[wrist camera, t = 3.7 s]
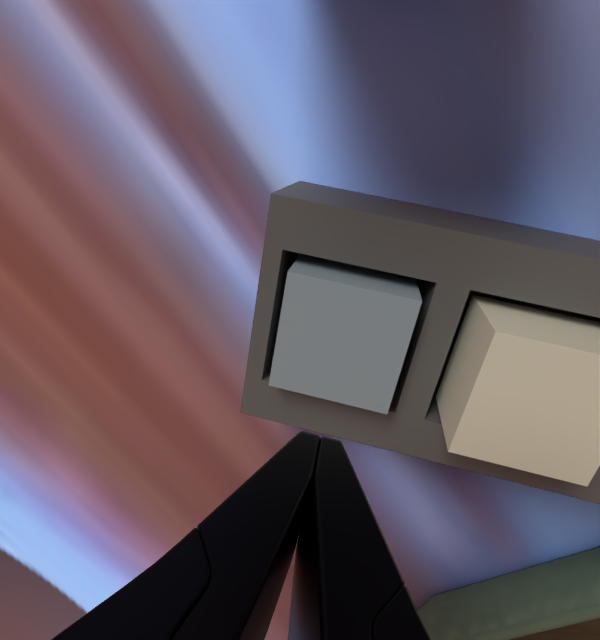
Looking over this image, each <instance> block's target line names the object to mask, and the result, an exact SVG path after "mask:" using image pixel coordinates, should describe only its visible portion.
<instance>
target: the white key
mask: <svg viewBox="0 0 600 640" xmlns="http://www.w3.org/2000/svg"><path fill="white" fill-rule="evenodd" d="M436 401H437V405H438V409H439V414H440V418H441V423H442V427H443V432H444V436H445V441H446V445H447V449H448V452H451V453H455V454H459V455H463V456H467V457H471V458H475V459H479V460H483V461H487V462H491V463H495V464H499V465H503V466H507V467H511V468H515V469H519V470H523V471H527V472H531V473H535V474H539V475H543V476H547V477H551V478H555V479H559V480H563V481H567V482H571V483H575V484H579V485H583V486H588V485H589V483H590V481H591V480H592V478H593V476H594V474H595V473H596V471H597V469H598V468H599V466H600V322H597V321H592V320H587V319H583V318H578V317H573V316H569V315H564V314H560V313H555V312H550V311H546V310H541V309H536V308H532V307H527V306H523V305H518V304H513V303H509V302H504V301H499V300H495V299H490V298H486V297H481V296H476V295H472V298H471V300H470V303H469V306H468V309H467V312H466V314H465V317H464V320H463V323H462V326H461V328H460V331H459V334H458V337H457V340H456V342H455V345H454V348H453V351H452V354H451V356H450V359H449V362H448V365H447V367H446V370H445V373H444V376H443V379H442V381H441V384H440V387H439V390H438V393H437V395H436Z"/></svg>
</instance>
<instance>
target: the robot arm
mask: <svg viewBox="0 0 600 640" xmlns="http://www.w3.org/2000/svg"><path fill="white" fill-rule="evenodd" d="M299 531H300V532H299ZM298 536H299V537H298ZM297 540H298V542H297ZM296 544H297V548H296ZM295 548H296V556H295V565H294V576H293V587H292V598H291V609H290V620H289V631H288V640H431V639H430V636H429V634H428V632H427V630H426V628H425V626H424V624H423V622H422V620H421V618H420V616H419V614H418V611H417V609H416V607H415V605H414V603H413V600H412V598H411V596H410V594H409V591H408V589H407V587H405V586H404V581H403V578H402V576H401V574H400V572H399V569H398V567H397V565H396V563H395V561H394V558H393V556H392V554H391V552H390V549H389V547H388V545H387V543H386V540H385V538H384V536H383V534H382V532H381V529H380V527H379V525H378V523H377V520H376V518H375V516H374V514H373V511H372V509H371V507H370V505H369V503H368V500H367V498H366V496H365V494H364V491H363V489H362V487H361V485H360V482H359V480H358V478H357V476H356V474H355V471H354V469H353V467H352V465H351V462H350V460H349V458H348V456H347V453H346V451H345V449H344V447H343V445H342V443H341V441H339V440H336V439H332V438H328V437H321V439H320V437H319V436H318V435H316V434H312V433H308V432H304V431H301V432H299V433H298V434H297V435H296V436H295V437H294V438H293V439H292V440H290V441H289V442H288V443H287V444H286V445H285V446H284V447H283V448H282V449H281V450H279V451H278V452H277V453H276V454H275V455H274V456H273V457H272V458H271V459H270V460H269V461H267V462H266V463H265V464H264V465H263V466H262V467H261V468H260V469H259V470H258V471H257V472H255V473H254V474H253V475H252V476H251V477H250V478H249V479H248V480H247V481H246V482H245V483H243V484H242V485H241V486H240V487H239V488H238V489H237V490H236V491H235V492H234V493H233V494H231V495H230V496H229V497H228V498H227V499H226V500H225V501H224V502H223V503H222V504H221V505H219V506H218V507H217V508H216V509H215V510H214V511H213V512H212V513H211V514H210V515H209V516H207V517H206V518H205V519H204V520H203V521H202V522H201V523H200V524H199V525H198V526H197V528H194V529H193V530H192V531H191V532H190V533H189V534H188V535H186V536H185V537H184V538H183V539H182V540H181V541H180V542H179V543H178V544H176V545H175V546H174V547H173V548H172V549H171V550H170V551H168V552H167V553H166V554H165V555H164V556H163V557H161V558H160V559H159V560H158V561H157V562H156V563H154V564H153V565H152V566H150V567H149V568H148V569H146V570H145V571H144V572H143V573H141V574H140V575H139V576H137V577H136V578H135V579H133V580H132V581H131V582H129V583H128V584H127V585H125V586H124V587H123V588H121V589H120V590H119V591H117V592H116V593H114V594H113V595H112V596H110V597H109V598H108V599H106V600H105V601H103V602H102V603H101V604H99V605H98V606H97V607H95V608H94V609H92V610H91V611H90V612H88V613H87V614H86V615H84V616H83V617H81V618H80V619H79V620H77V621H76V622H75V623H73V624H72V625H70V626H69V627H68V628H66V629H65V630H63V631H62V632H61V633H60V634H58V635H57V636H55V637H54V638H52V639H51V640H264V639H265V636H266V633H267V630H268V628H269V625H270V622H271V619H272V616H273V613H274V610H275V607H276V604H277V601H278V599H279V596H280V593H281V590H282V587H283V584H284V581H285V578H286V575H287V572H288V570H289V567H290V564H291V561H292V558H293V554H294V551H295Z"/></svg>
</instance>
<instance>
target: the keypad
mask: <svg viewBox="0 0 600 640" xmlns="http://www.w3.org/2000/svg"><path fill="white" fill-rule="evenodd" d="M300 254H305V255H310V256H315V257H319V258H324V259H329V260H333V261H338V262H342V263H347V264H352V265H356V266H361V267H366V268H370V269H375V270H380V271H384V272H389V273H394V274H398V275H403V276H408V277H412V278H416V281H417V284H418V288H419V291H420V295H421V299H422V304H421V307H420V310H419V313H418V317H417V320H416V323H415V326H414V330H413V333H412V336H411V339H410V343H409V346H408V349H407V352H406V356H405V359H404V362H403V365H402V368H401V372H400V375H399V378H398V381H397V385H396V388H395V391H394V394H393V398H392V401H391V404H390V407H389V410H388V414H383V413H379V412H375V411H371V410H367V409H363V408H359V407H354V406H350V405H346V404H342V403H338V402H334V401H330V400H326V399H322V398H318V397H314V396H310V395H306V394H302V393H297V392H293V391H289V390H285V389H281V388H277V387H273V386H269V379H270V373H271V367H272V361H273V355H274V349H275V343H276V338H277V332H278V326H279V320H280V314H281V308H282V302H283V296H284V290H285V284H286V278H287V272H288V270H289V269H290V268H291V266H292V265H293V264H294V262H295V261H296V260H297V258H298V257H299V255H300ZM472 295H476V296H481V297H486V298H490V299H495V300H499V301H504V302H509V303H513V304H518V305H523V306H527V307H532V308H536V309H541V310H546V311H550V312H555V313H560V314H564V315H569V316H573V317H578V318H583V319H587V320H592V321H597V322H600V241H598V240H593V239H588V238H583V237H578V236H573V235H568V234H563V233H558V232H553V231H548V230H543V229H538V228H533V227H528V226H523V225H518V224H513V223H508V222H503V221H498V220H493V219H488V218H483V217H478V216H473V215H468V214H463V213H458V212H453V211H448V210H443V209H438V208H433V207H428V206H423V205H418V204H413V203H408V202H403V201H397V200H392V199H387V198H382V197H377V196H372V195H367V194H362V193H357V192H352V191H347V190H342V189H337V188H332V187H327V186H322V185H317V184H312V183H307V182H302V181H299V182H296V183H294V184H292V185H289V186H287V187H285V188H282V189H280V190H278V191H275V192H273V193H271V198H270V205H269V213H268V220H267V227H266V234H265V241H264V248H263V255H262V262H261V269H260V277H259V284H258V291H257V298H256V305H255V312H254V319H253V326H252V333H251V341H250V348H249V355H248V362H247V369H246V376H245V383H244V390H243V397H242V404H241V412H240V413H244V414H248V415H251V416H255V417H259V418H263V419H267V420H271V421H275V422H279V423H283V424H287V425H291V426H295V427H299V428H303V429H307V430H311V431H315V432H319V433H323V434H327V435H330V436H334V437H338V438H342V439H346V440H350V441H354V442H358V443H362V444H366V445H370V446H374V447H378V448H382V449H386V450H390V451H394V452H398V453H402V454H406V455H409V456H413V457H417V458H421V459H425V460H429V461H433V462H437V463H441V464H445V465H449V466H453V467H457V468H461V469H465V470H469V471H473V472H477V473H481V474H485V475H488V476H492V477H496V478H500V479H504V480H508V481H512V482H516V483H520V484H524V485H528V486H532V487H536V488H540V489H544V490H548V491H552V492H556V493H560V494H564V495H567V496H571V497H575V498H579V499H583V500H587V501H591V502H595V503H599V504H600V466H599V468H598V469H597V471H596V473H595V474H594V476H593V478H592V480H591V481H590V483H589V485H588V486H583V485H579V484H575V483H571V482H567V481H563V480H559V479H555V478H551V477H547V476H543V475H539V474H535V473H531V472H527V471H523V470H519V469H515V468H511V467H507V466H503V465H499V464H495V463H491V462H487V461H483V460H479V459H475V458H471V457H467V456H463V455H459V454H455V453H451V452H448V449H447V445H446V441H445V436H444V432H443V427H442V423H441V418H440V414H439V409H438V405H437V401H436V395H437V393H438V390H439V387H440V384H441V381H442V379H443V376H444V373H445V370H446V367H447V365H448V362H449V359H450V356H451V354H452V351H453V348H454V345H455V342H456V340H457V337H458V334H459V331H460V328H461V326H462V323H463V320H464V317H465V314H466V312H467V309H468V306H469V303H470V300H471V298H472Z"/></svg>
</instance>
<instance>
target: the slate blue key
mask: <svg viewBox="0 0 600 640" xmlns="http://www.w3.org/2000/svg"><path fill="white" fill-rule="evenodd" d="M421 304H422V299H421V295H420V291H419V288H418V284H417V281H416V278H412V277H408V276H403V275H398V274H394V273H389V272H384V271H380V270H375V269H370V268H366V267H361V266H356V265H352V264H347V263H342V262H338V261H333V260H329V259H324V258H319V257H315V256H310V255H305V254H300V255H299V257H298V258H297V260H296V261H295V262H294V264H293V265H292V266H291V268H290V269H289V270H288V272H287V278H286V284H285V290H284V296H283V302H282V308H281V314H280V320H279V326H278V332H277V338H276V343H275V349H274V355H273V361H272V367H271V373H270V379H269V386H273V387H277V388H281V389H285V390H289V391H293V392H297V393H302V394H306V395H310V396H314V397H318V398H322V399H326V400H330V401H334V402H338V403H342V404H346V405H350V406H354V407H359V408H363V409H367V410H371V411H375V412H379V413H383V414H388V410H389V407H390V404H391V401H392V398H393V394H394V391H395V388H396V385H397V381H398V378H399V375H400V372H401V368H402V365H403V362H404V359H405V356H406V352H407V349H408V346H409V343H410V339H411V336H412V333H413V330H414V326H415V323H416V320H417V317H418V313H419V310H420V307H421Z"/></svg>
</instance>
